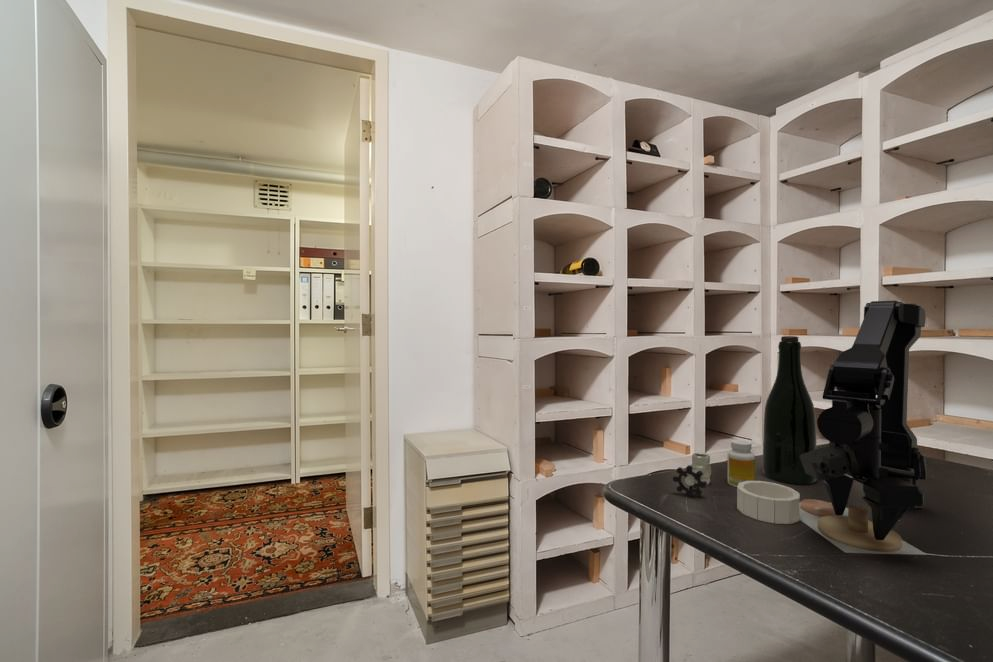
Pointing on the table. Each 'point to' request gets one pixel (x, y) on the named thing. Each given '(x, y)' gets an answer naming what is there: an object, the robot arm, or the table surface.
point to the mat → (813, 523)
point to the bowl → (768, 502)
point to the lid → (857, 531)
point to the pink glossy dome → (817, 507)
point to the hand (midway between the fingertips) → (857, 526)
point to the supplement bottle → (740, 463)
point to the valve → (695, 474)
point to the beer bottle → (788, 419)
